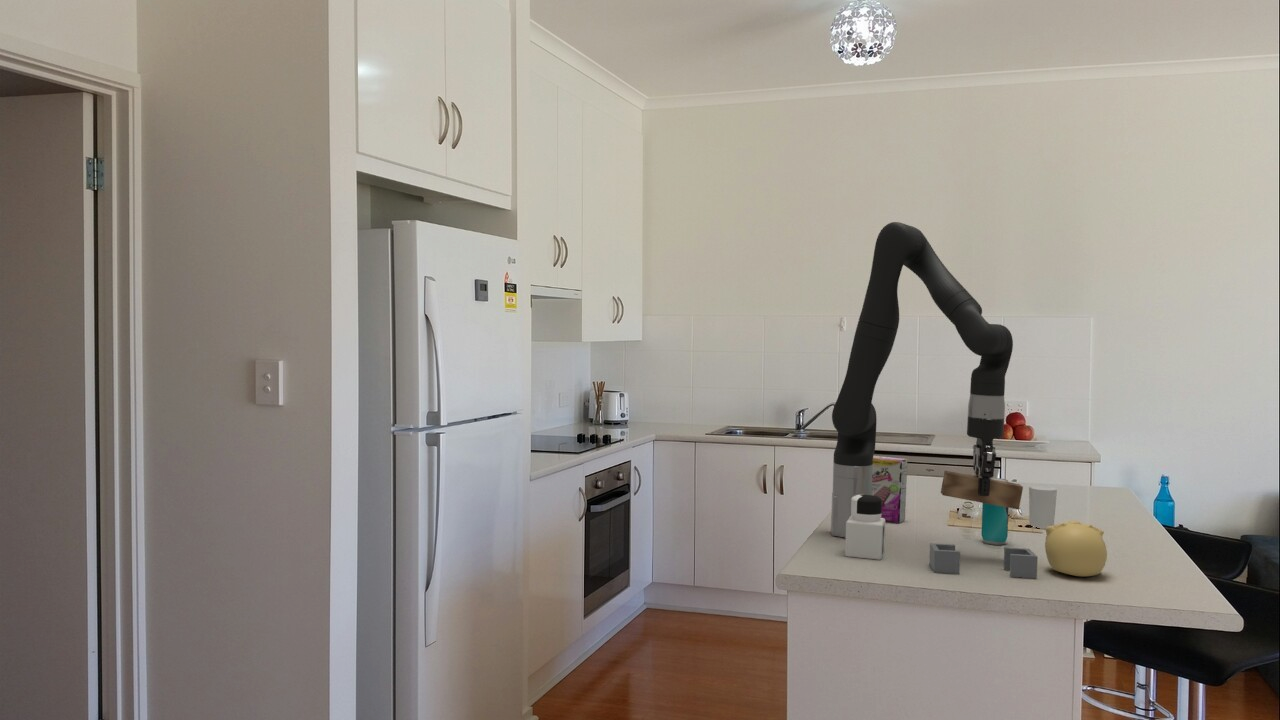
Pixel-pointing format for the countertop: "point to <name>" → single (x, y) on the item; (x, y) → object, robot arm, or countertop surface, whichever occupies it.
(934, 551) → the endcap
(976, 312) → the robot arm
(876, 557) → the container
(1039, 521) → the drinking glass
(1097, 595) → the countertop surface
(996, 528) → the beverage can
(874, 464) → the candy bar box
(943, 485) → the brown wooden bar
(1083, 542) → the sculpture
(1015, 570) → the endcap
